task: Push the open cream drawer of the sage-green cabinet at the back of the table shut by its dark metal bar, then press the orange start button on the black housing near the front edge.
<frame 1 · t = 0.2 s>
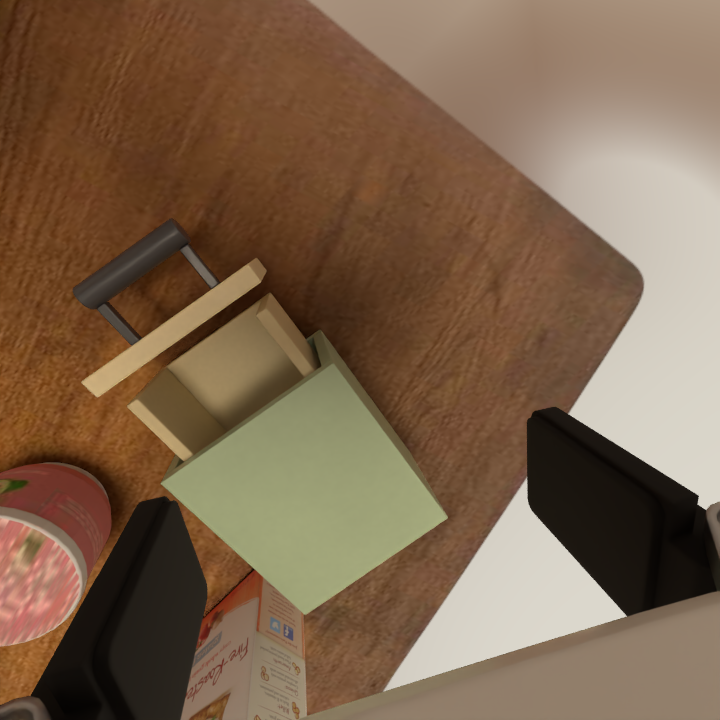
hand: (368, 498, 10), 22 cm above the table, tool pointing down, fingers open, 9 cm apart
container: (58, 501, 32), on the table
drawer: (227, 365, 26), point 5 cm above the table, slide at 6.0 cm
cabinet: (309, 436, 34), on the table
cracker box: (233, 617, 39), on the table
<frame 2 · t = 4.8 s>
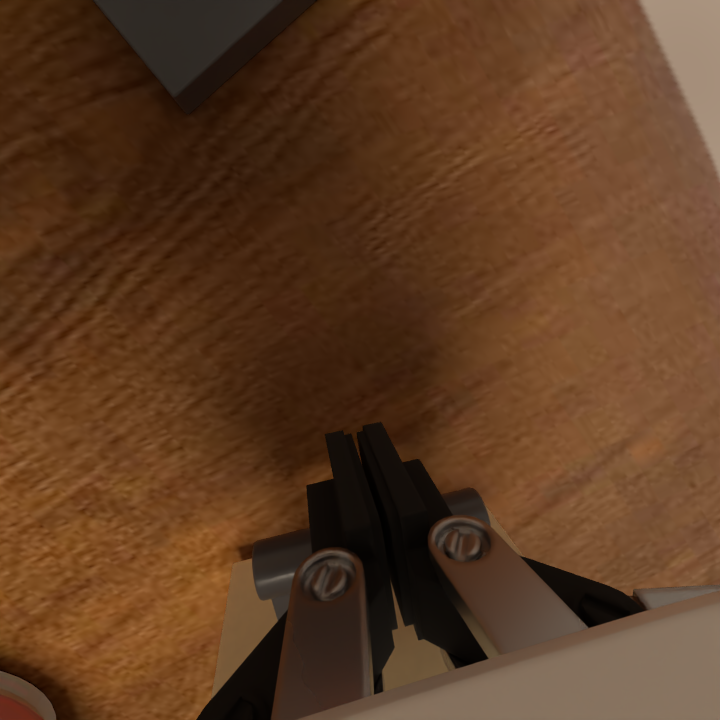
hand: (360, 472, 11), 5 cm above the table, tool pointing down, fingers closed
drawer: (395, 685, 15), point 5 cm above the table, slide at 5.5 cm, touching gripper
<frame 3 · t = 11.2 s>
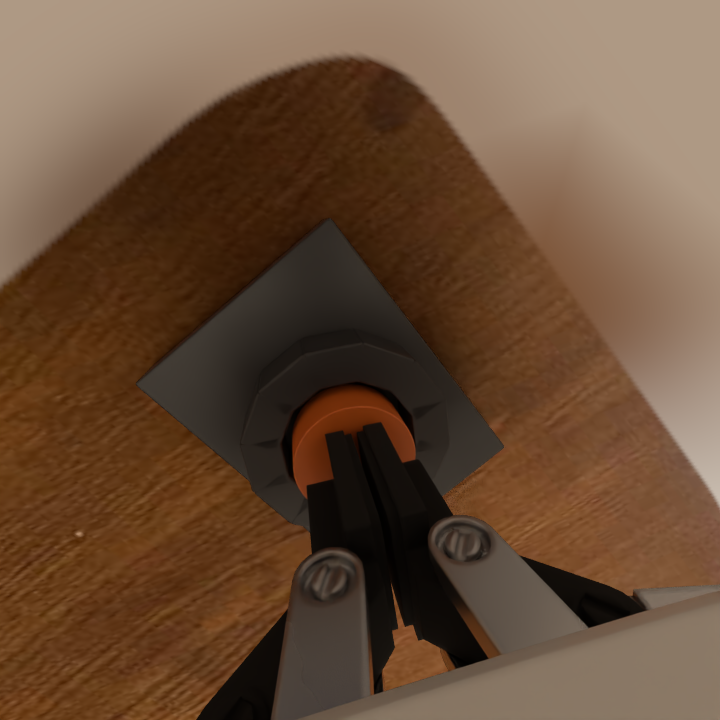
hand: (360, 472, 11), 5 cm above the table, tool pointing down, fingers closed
button: (351, 447, 12), point 4 cm above the table, slide at -0.3 cm, touching gripper
button box: (336, 400, 15), on the table
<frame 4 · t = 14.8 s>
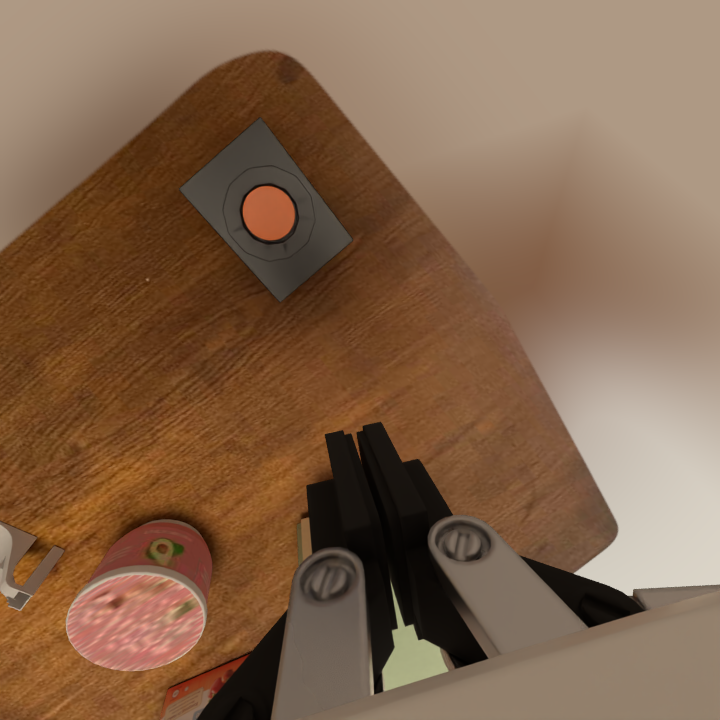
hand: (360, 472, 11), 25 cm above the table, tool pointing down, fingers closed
container: (166, 549, 39), on the table
button: (269, 214, 28), point 4 cm above the table, slide at 0.1 cm
button box: (271, 217, 32), on the table
drawer: (367, 566, 39), point 5 cm above the table, slide at 0.0 cm
cabinet: (364, 561, 44), on the table
cracker box: (233, 674, 46), on the table
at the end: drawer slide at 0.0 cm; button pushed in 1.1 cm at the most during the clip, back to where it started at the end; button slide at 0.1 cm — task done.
